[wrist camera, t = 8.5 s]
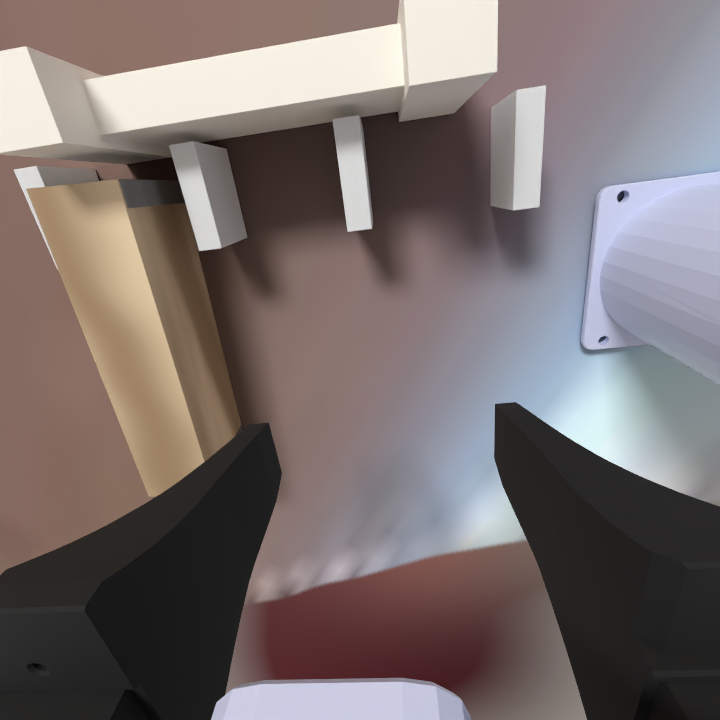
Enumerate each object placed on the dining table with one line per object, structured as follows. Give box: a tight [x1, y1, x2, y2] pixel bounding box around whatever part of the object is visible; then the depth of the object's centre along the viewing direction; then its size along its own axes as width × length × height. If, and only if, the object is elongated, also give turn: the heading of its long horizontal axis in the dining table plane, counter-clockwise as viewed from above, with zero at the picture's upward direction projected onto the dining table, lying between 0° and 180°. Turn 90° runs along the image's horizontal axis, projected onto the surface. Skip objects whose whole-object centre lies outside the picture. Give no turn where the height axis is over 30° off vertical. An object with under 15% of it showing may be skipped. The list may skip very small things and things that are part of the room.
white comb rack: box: [0, 0, 546, 269], centre depth 15 cm, size 21×6×7 cm, turn 97°
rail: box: [26, 179, 243, 496], centre depth 20 cm, size 4×15×5 cm, turn 5°
